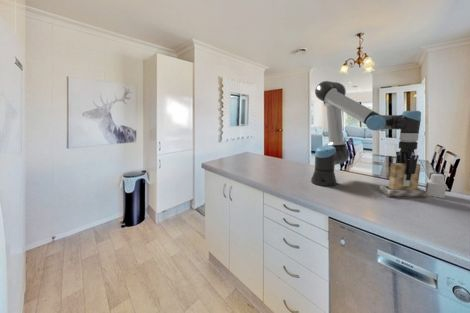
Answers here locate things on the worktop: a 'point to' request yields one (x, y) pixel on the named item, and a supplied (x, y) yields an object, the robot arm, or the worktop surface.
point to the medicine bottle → (436, 185)
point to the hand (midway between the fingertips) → (403, 184)
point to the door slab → (402, 177)
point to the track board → (403, 192)
